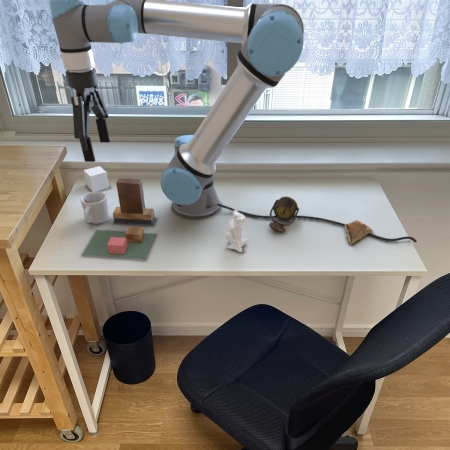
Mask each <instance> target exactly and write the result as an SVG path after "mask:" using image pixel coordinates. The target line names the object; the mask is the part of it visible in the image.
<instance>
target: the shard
mask: <svg viewBox="0 0 450 450" xmlns="http://www.w3.org/2000/svg"><path fill="white" fill-rule="evenodd" d="M344 224H345V226H344V228H345V230H346V233H347V239H348V242H349V243H350V245H353V244H355V243H356V242H357V241H359V240H360V239H362V238H364V237H365V236H367V235H368V233H372V232H373V229H372V228H371V227H370V226H369V225H367V224H365V223H363V222H361V221H359V220H353V221H351V222H349V223H344Z"/></svg>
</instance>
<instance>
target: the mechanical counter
mask: <svg viewBox="0 0 450 450" xmlns="http://www.w3.org/2000/svg"><path fill="white" fill-rule="evenodd" d="M299 211H300V208H299V205H298V202H297V201H296V200H295V199H294V198H292V197H290V196H281V197H280V198H278V199H276V200H275V201H274V203H273V205H272V207H271V209H270V211H269V216H270V218H269V219H270V220H271V221H272V222H269V224H268V225H269V228H270V229H271V230H273V231H274V232H276V233H284V232H286V228H285V227H289V226H291V225H293V223H294V222H295V221H296V219H297V218H296V216H298V214H299ZM272 214H274V216H276V217H277V218H276V219H278V220H281V221H284V222H287V221H291V220H292V221H291V222H288V223H281V222H279V221H277V220H276V219H275V218H273V217H272V216H273V215H272ZM294 215H295V216H294ZM293 216H294V218H293Z"/></svg>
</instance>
